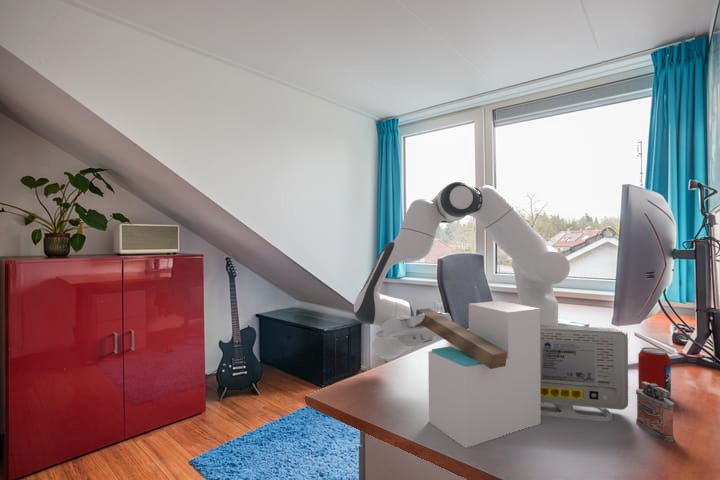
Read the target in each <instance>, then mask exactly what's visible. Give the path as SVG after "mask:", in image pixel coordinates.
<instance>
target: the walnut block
mask: <svg viewBox="0 0 720 480" xmlns="http://www.w3.org/2000/svg"><path fill="white" fill-rule="evenodd" d="M437 312H438V311H435V310H433V309H431V308H429V307H428V308H420V309H416V313H415V316H417V315H418V314H425V317H426V321H424V322H420V324H421V325H423V326H425V327H426V328H428V329H429V330H431V331H432V332H434V333H435V334H437V336H438V337H440V338H441V339H443V340H445V341H446V342H448V343H449V344H451V345H452V346H456V347H457V348H459V349H460V350H462V351H463V352H465V353H467V354H468V355H470V356H471V357H473V358H474V359H476V360H477V361H479V362H481V363H482V364H484V365H485V366H487V367H488V368H490V369H494V368H498V367H503V366H505V365H506V359H507V352H506V351H505V350H503V349H501V348H499V347H497V346H496V345H494V344H492V343H490V342H488V341H487V340H485V339H483V338H481V337H480V336H478V335H476V334H474V333H472V332H471V331H469V329H467V328H465V327H463V326H462V325H460V324H458V323H456V321H455V322H454V321H453V320H452V321H451V320H449V319H447V318H446V317H444V316H442V315H440V314H438V313H437Z"/></svg>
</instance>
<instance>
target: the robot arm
mask: <svg viewBox="0 0 720 480" xmlns="http://www.w3.org/2000/svg"><path fill="white" fill-rule="evenodd" d="M467 216H471V217H473V219H475V221H477V222H478V223H479V224H480V226H481V227H482V228H483V229H484V231H485V233H487V234H488V236H489V237H491V239H492V240H493V241H494V243H495V244H496V245H497V246H498V247H499V249H500V250H502V251H503V252H504V253H505V254H507V255H508V257H510V258H511V267H512V271H513V272H514V273H513V274H514V281H515V287H516V292H517V297H518V304H519V305H524V306H529V307H535V308H540V325H553V326H558V320H559V303H558V300H557V298H556V296H555V292H554V288H553V286H552V285H556V284H560V283H562V282H563V281H565V280H566V279H567V278H568V276H569V274H570V270H571V267H570V266H571V265H570V262H569V260H568V258H567V257H566V256H565V255H564V254H562V253H561V252H560V251H558V250H557V249H556V248H555V247H553V246H552V245H551V244H550V242H548V240H546V239H545V238H544V237H543V236H542V235H540V234H539V233H538V232H537V231H536V230H535V229H534V228H532V227H531V225H530V224H529V223H528V222H527V221H526V220H525V219H524V217H523V216H522V215H521V214H520V212H519V211H518V210H517V209H516V208H515V207H514V205H513V204H512V203H511V202H510V201H509V200H508V199H507V198H506V197H505V196H504V195H503V194H502V193H501V192H500V191H498V190H497V189H496V188H495V187H493V186H490V185H483V186H480V187H475V186H473V185H471V184H469V183H466V182H463V181H456V182H451V183H449V184H447V185H446V186H445V187H444V188H442V189H441V190H440V191H439V192H438V193H437V195H435V197H434V198H433V199H432V200H431V199H425V198H419V199H416V200H413V202H411V203H410V205H409V207H408V209H407V211H406V212H405V216H404V217H403V220H402V223H401V226H400V230H399V232H398V234H397V236H396V237H395V238H394V239H393V240H392V241H391V242H387V243H386V244H385V245H384V246H383V247H382V250H381V251H380V253H379V255H378V256H377V258H376V261H375V262H374V265H373V266H372V269H371V271H370V273H369V275H368V277H367V279H366V281H365V283H364V285H363V287H362V289H361V290H360V292H359V293H358V295H357V296H356V299H355V301H354V302H353V303H354V304H353V307H352V312H353V315H354V316H355V318H356V319H357V321H358V322H359V323H360V324H366V325H372V326H373V325H374V326H378V327H379V328H380V330H378V331H377V332H376V333H375V337H374V338H373V339H372V342H371V347H372V350H373V351H374V353H375V354H376V355H377V356H378V357H379V358H380V359H381V358H382V359H386V360H388V359H393V358H396V357H398V356H400V355H402V354H404V352H408V351H410V350H411V349H413V348H414V347H415V348H416V347H417V346H420V345H421V344H426V343H429V342H432V341H434V340H436V339H437V336H438V335H437V334H435V333H434V332H432V331H431V330H429V329H428V328H426V327H425V326H423V325H421V324H420V322H424V321H426V317H425V314H418V315H417V316H416V315H415V312H414V309H413V307H412V305H411V303H410V302H409V301H408V300H405V299H402V298H398V297H395V296H394V297H393V296H390V295H386V294H382V293H380V292H379V291H380V289H381V287H382V285H383V283H384V280H385V278H386V276H387V274H388V272H389V270H390V269H391V268H392V267H393V266H394V265H397V264H402V263H410V262H416V261H420V260H422V259H424V258H426V256H428V255H429V254H430V252H431V251H432V248H433V245H434V241H435V238H436V234H437V230H438V229H439V226H440V224H441V223H443V224H445V223H446V224H449V223H453V222H456V221H457V222H458V221H460V220H462V219H464V218H465V217H467ZM436 312H437V313H438V314H440V315H442V316H444V317H446V318H447V319H449V320H451V321H453V320H452V316H451V315H450V313H449V312H446V313H443V311H436Z"/></svg>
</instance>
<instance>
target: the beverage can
mask: <svg viewBox="0 0 720 480" xmlns="http://www.w3.org/2000/svg"><path fill="white" fill-rule="evenodd" d="M637 357H638V360H637V361H638V362H637V365H638V366H637V368H638V369H637V370H638V371H637V373H638V375H637V376H638V377H637V379H638V381H637V383H638V389H642V382H648V383H650V384H657V385H658V386H659V387H661V388H663V389H665V390H667V391H669V392H670V397H671V396H672V393H671V392H672V388H671V387H672V386H671V385H672V373H671V370H672V366H671V365H672V361H671V360H672V359H671V356H669V354H668V352H667V351H666V350H664V349H661V348H657V347H647V346H645V347H642V348H641V349H640V351H639V353H638V355H637ZM664 398H666V397H664ZM666 399H667V398H666Z"/></svg>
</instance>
